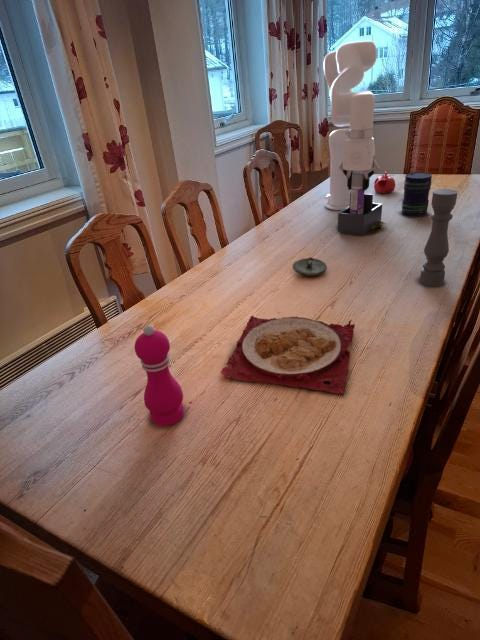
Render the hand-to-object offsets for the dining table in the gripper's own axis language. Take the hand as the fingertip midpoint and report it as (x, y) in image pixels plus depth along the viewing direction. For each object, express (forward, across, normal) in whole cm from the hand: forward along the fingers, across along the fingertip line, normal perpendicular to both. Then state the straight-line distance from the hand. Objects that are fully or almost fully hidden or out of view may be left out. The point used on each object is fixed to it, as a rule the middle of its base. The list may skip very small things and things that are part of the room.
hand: (357, 188), depth 153 cm
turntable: (+16, 0, +4) cm, 16 cm away
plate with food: (+16, +16, -81) cm, 84 cm away
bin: (+16, 0, +4) cm, 16 cm away
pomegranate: (+16, -8, +57) cm, 59 cm away
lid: (+16, 0, -40) cm, 43 cm away
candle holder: (+16, +34, -33) cm, 50 cm away
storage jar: (+16, +14, +28) cm, 35 cm away
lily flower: (+15, +3, +7) cm, 17 cm away
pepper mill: (+16, +4, -110) cm, 111 cm away
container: (+10, 0, 0) cm, 10 cm away
